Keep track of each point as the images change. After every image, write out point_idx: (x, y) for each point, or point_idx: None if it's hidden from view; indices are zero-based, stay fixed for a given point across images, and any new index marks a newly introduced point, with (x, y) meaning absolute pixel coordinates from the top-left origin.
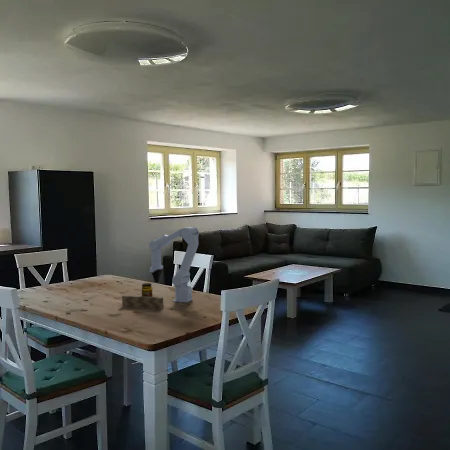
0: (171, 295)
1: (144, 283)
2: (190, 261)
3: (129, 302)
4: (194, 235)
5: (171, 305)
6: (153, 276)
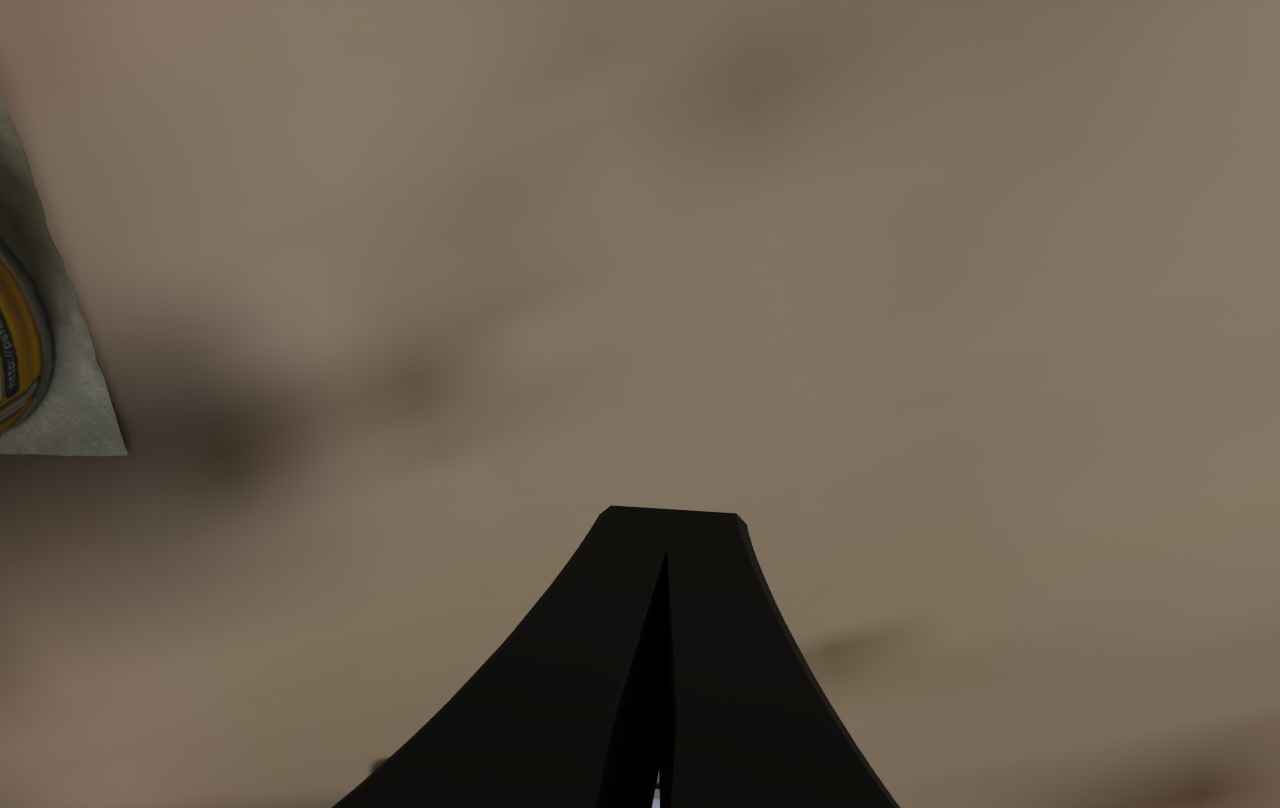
0: (1059, 567)
1: None
2: None
3: None
4: None
5: (126, 802)
6: (390, 792)
